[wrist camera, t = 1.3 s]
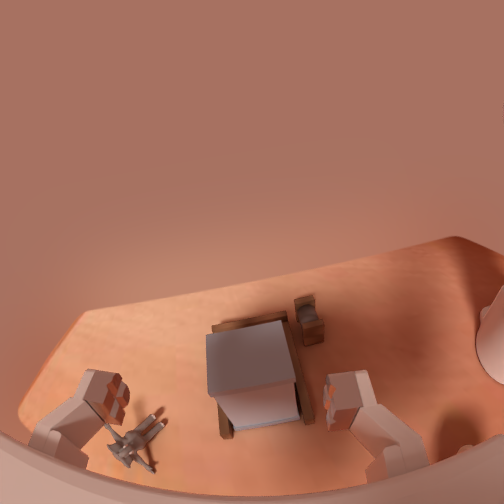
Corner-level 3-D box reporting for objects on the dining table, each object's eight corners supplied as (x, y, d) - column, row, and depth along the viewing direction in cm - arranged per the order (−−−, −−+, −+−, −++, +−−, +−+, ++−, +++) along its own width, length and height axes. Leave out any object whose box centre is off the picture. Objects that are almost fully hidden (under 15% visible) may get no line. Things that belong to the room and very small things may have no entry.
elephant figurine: (191, 442, 32) (150, 485, 24) (174, 446, 35) (136, 483, 27) (139, 389, 33) (91, 426, 25) (128, 398, 36) (86, 431, 28)
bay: (313, 313, 47) (312, 295, 44) (348, 413, 32) (352, 400, 29) (216, 334, 47) (209, 317, 44) (223, 439, 32) (214, 429, 29)
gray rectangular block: (288, 373, 38) (280, 319, 31) (299, 419, 32) (295, 377, 25) (230, 385, 38) (205, 334, 31) (235, 431, 32) (207, 393, 25)
